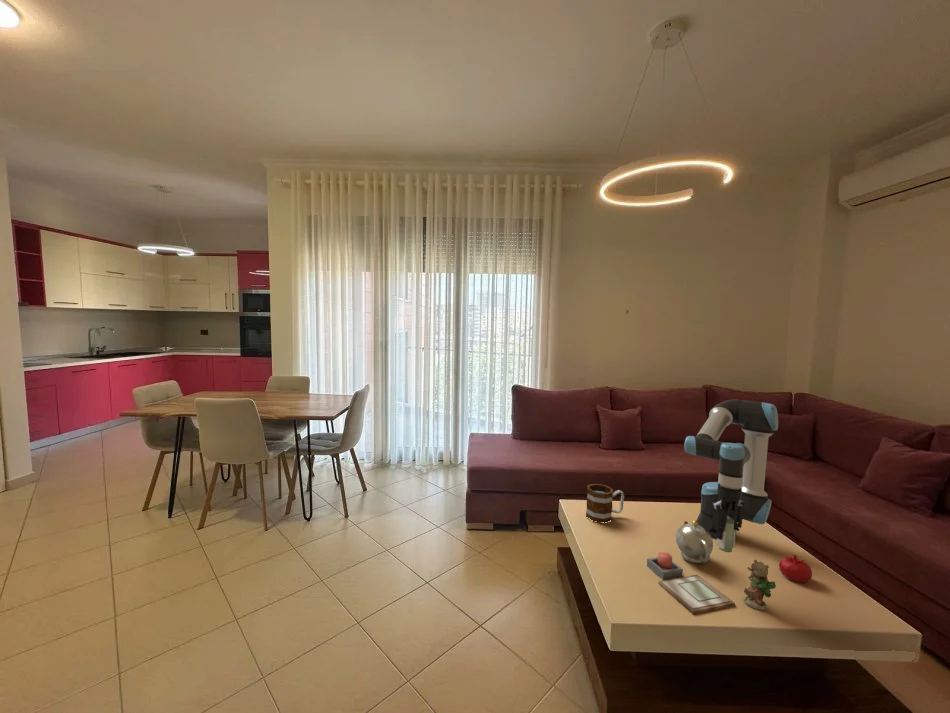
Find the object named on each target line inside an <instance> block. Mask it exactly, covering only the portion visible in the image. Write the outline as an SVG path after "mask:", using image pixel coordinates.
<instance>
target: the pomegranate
mask: <svg viewBox="0 0 950 713" xmlns="http://www.w3.org/2000/svg"><path fill="white" fill-rule="evenodd" d="M778 567H779V571H780V572H781V574H782V575H783V576H784V577H785V578H786V579H788V580H790V581H792V582H797V583H807V582H809V581H810V580H811V579H812V577H813V570H812V568H811V567H812V566H810V565H809V564H808V562H807V561H806V560H804V559H799V556H798V555H797V554H795V553H793V554H792V556H791V555H790V554H788V556H786V557H785V556H784V557H783V558H781V560H779V562H778Z"/></svg>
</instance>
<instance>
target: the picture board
mask: <svg viewBox="0 0 950 713" xmlns="http://www.w3.org/2000/svg"><path fill="white" fill-rule="evenodd" d="M657 584H658V585H659V587H661V588H662V589H664V591H666V592H667V593H668V594H669V595H670V596H672V597H673V599H674V600H676V601H677V602H678V603H679V604H681V606H683V607H684V608H685V609H686V610H688V612H690V613H691V614H692V615H696V614H701V613H706V612H711V611H716V610H720V609H726V608H730V607H734V606H736V602H734V601H733V600H732V599H730V598H729V597H728V596H726V595H725V594H724V593H722V592H721V591H720V590H718V589H717V588H715V587H714V586H713V585H712V584H710V583H709V582H708V581H707V580H705V579H704V578H702V577H701V576H700V575H699V574H693V575H687V576H682V577H678V578H672V579H666V580H663V579H662V580H659V581H658V583H657Z"/></svg>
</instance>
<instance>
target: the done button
mask: <svg viewBox="0 0 950 713" xmlns="http://www.w3.org/2000/svg"><path fill="white" fill-rule="evenodd" d="M657 557H658V566H659V567H660V568H661V569H663V570H670V569H671V568H672V561H673V556H672V555H671V554H669V553H668V552H663V551H661V552H658V554H657Z"/></svg>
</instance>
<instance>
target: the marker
mask: <svg viewBox="0 0 950 713" xmlns="http://www.w3.org/2000/svg"><path fill="white" fill-rule="evenodd" d="M733 529H734V519H733V518H731V517H729V516H727V521H726V525H725V529H724V531H725V532H726V539H725V549H722V548H720V547H719V546H718V547H719V550H721V551H722V552H723V553H732V552H733V548H732V544H733Z"/></svg>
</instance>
